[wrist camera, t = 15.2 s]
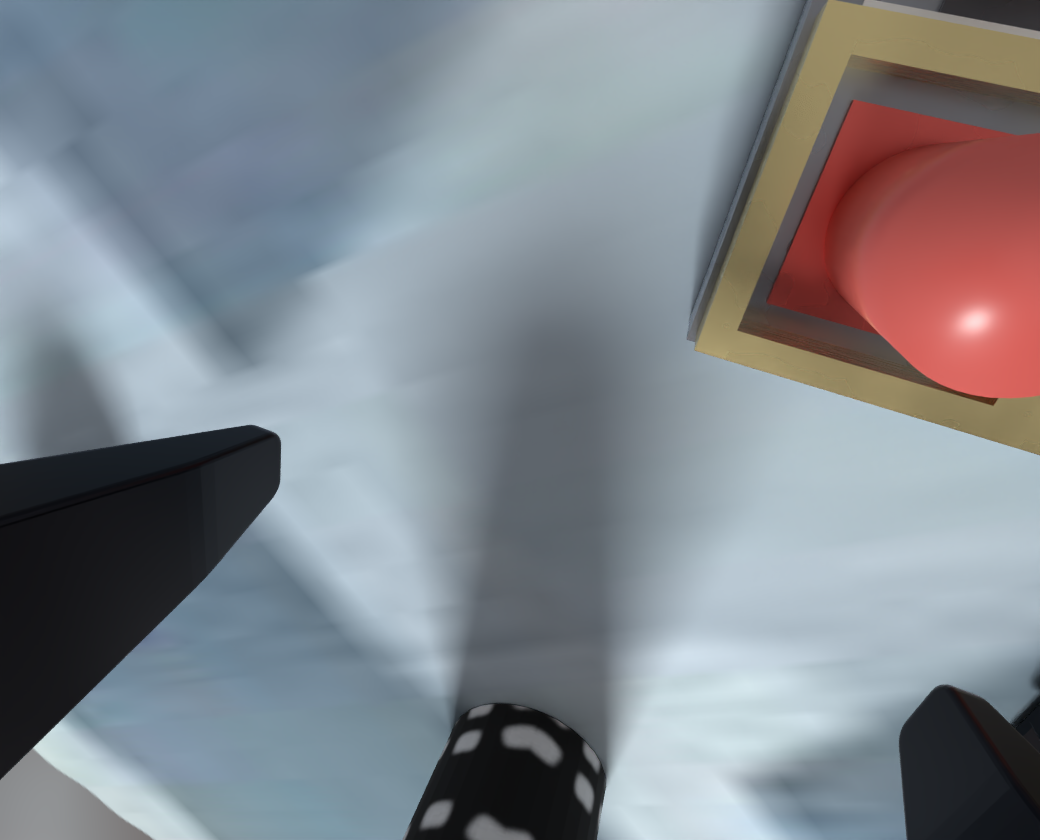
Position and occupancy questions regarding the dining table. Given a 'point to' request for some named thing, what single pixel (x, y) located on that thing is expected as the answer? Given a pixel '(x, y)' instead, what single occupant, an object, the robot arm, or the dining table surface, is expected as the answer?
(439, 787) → the white-spotted black cylinder
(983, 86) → the panel
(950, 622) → the dining table surface
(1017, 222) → the red rounded cylinder
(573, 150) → the dining table surface
